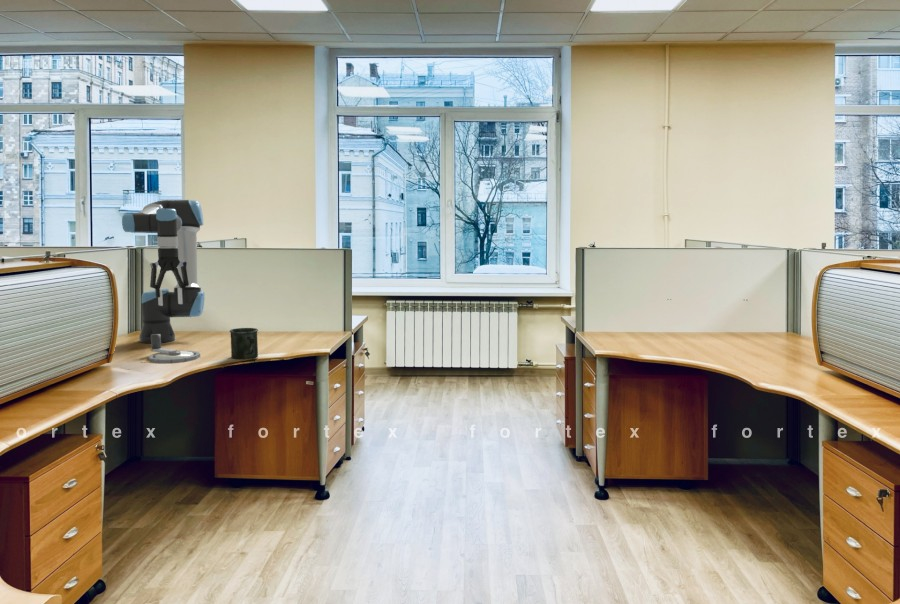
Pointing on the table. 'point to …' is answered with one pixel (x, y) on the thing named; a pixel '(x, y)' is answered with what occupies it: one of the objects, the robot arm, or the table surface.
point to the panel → (153, 359)
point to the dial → (166, 350)
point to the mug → (244, 344)
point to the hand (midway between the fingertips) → (170, 304)
